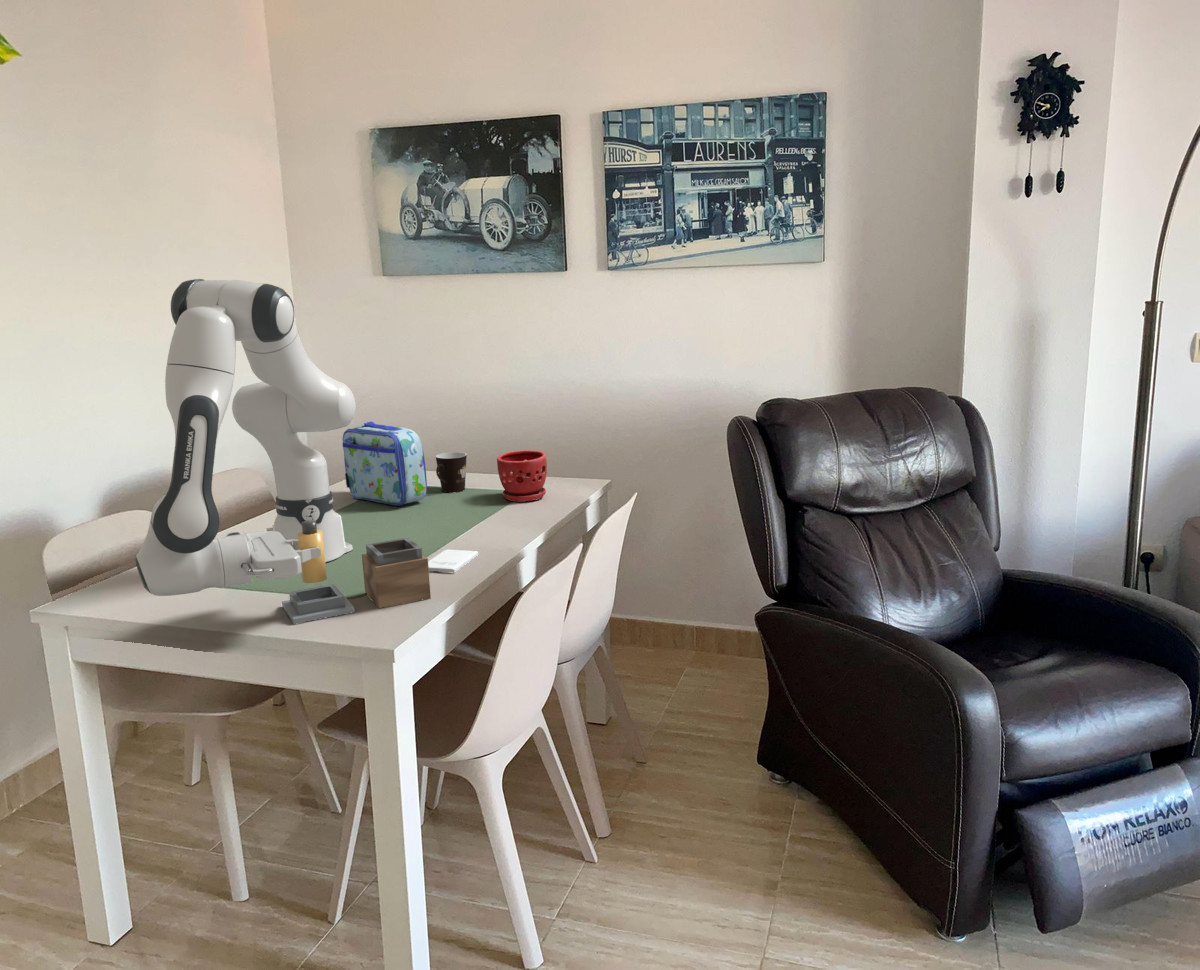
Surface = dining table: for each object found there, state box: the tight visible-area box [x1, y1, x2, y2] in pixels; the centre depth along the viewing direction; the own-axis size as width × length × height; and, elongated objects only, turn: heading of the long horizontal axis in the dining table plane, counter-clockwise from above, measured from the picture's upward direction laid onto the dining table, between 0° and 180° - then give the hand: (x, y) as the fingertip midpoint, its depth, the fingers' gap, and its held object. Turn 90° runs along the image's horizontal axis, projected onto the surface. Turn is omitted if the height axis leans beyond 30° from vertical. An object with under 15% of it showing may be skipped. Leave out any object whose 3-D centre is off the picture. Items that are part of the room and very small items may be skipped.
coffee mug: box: [435, 451, 468, 494], centre depth 270 cm, size 12×9×10 cm
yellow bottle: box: [298, 520, 328, 584], centre depth 178 cm, size 4×4×11 cm
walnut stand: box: [361, 537, 432, 609], centre depth 186 cm, size 10×10×10 cm
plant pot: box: [496, 449, 548, 503], centre depth 259 cm, size 13×13×12 cm
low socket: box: [281, 583, 356, 625], centre depth 181 cm, size 11×11×3 cm
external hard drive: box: [428, 549, 479, 574], centre depth 206 cm, size 2×8×12 cm
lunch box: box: [342, 421, 428, 507], centre depth 260 cm, size 26×11×21 cm, turn 49°
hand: (316, 547), depth 179 cm, fingers closed on yellow bottle, 4 cm apart
